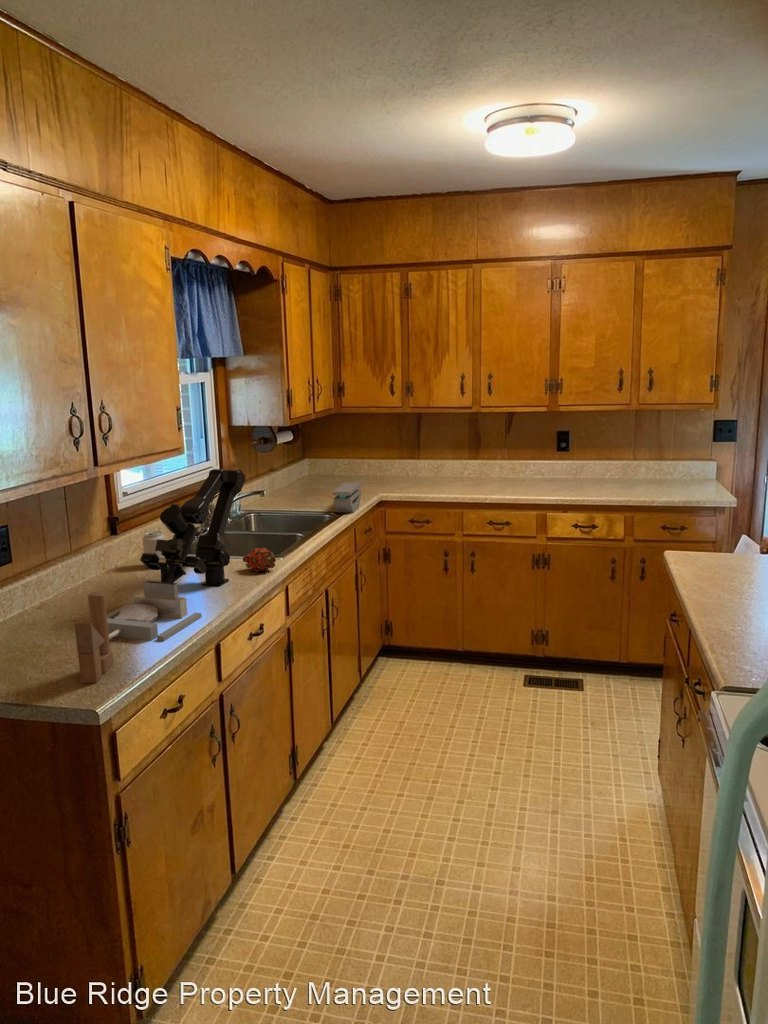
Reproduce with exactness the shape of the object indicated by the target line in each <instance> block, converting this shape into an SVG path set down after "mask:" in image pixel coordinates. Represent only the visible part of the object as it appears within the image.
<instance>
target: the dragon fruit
mask: <svg viewBox="0 0 768 1024" xmlns="http://www.w3.org/2000/svg"><path fill="white" fill-rule="evenodd" d="M242 562H243V563H245V567H246V568H248V569H252V570H254V572H255V573H259V572H260V571H262V572H268V571H269V569H273V568H275V567H276V564H275V562H277V559H276V557H275V554H274V553H273V552H272V551H270V550H269V549H268V548H265V547H262V548H261V547H260V548H259V547H255V548H254V550H252V552H250V553H248V554H246V555H245V556H243V557H242Z"/></svg>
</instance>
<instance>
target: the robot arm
mask: <svg viewBox="0 0 768 1024" xmlns="http://www.w3.org/2000/svg"><path fill="white" fill-rule="evenodd" d="M245 483H246V475H245V474H244V473H243V471H242V470H241V469H225V468H224V469H221V468H213V469H211V470H210V471H209V472H208V476H207V478H206V479H205V480H204V482H203V483H202V485H201V486H200V488H199V489H198V490H197V492H196V493H195V495H194V496H193V497H192V498H190V499H188V500H186V501H185V502H184V503H183V504H182V505H181V506H180V505H179V504H175V503H172V504H171V505H170V506H169V507H167V508H166V509H164V510H163V511H162V512H161V513H160V516H159V519H160V520H159V521H160V522H161V523H162V524H163V525H164V526H165V527H166V529H167V530H168V531H169V532H170V533H171V534H173V537H171V538H172V539H166V540H157V542H156V547H155V551H160V552H161V555H162V556H164V557H165V558H162V557H158V556H157V555H156V554H155V553H144V552H143V553H142V555H141V557H140V558H139V561H140V562H141V563H142V564H143V565H144V566H145V567H146V568H147V569H148V570H151V571H160V582H168V583H176V581H177V580H179V579H181V577H183V576H186V575H187V572H186V571H187V569H188V568H191V569H192V570H193V572H194V573H195V574H198V575H199V574H200V575H204V579H205V580H204V581H203V582H201V585H202V586H214V587H220V586H222V585H225V584H226V583H228V582H229V581H230V579H229V578H225V577H226V576H225V567H226V566H229V564H230V560H231V556H230V554H228V552H227V551H226V544H225V541H224V534H225V530H226V527H227V523H228V521H229V516H230V513H231V510H232V506H233V502H234V499H235V497H236V496H237V495H238V494H239V493H240V492H241V491H242V490H243V487H244V484H245ZM217 493H218V496H217V499H216V503H215V505H214V509H213V513H212V515H211V521H210V524H209V526H208V530H207V532H206V533H205V535H203V534H200V532H199V530H198V527H195V525H203V524H204V523H205V522H206V520H207V518H208V516H209V514H210V513H209V506H210V504H211V502H212V501H213V500H214V498H215V497H216V495H217ZM195 537H196V538H198V542H197V543H196V545H195V552H194V553H195V555H189V554H192V552H193V550H192V549H191V548H192V544H193V542H194V540H195Z"/></svg>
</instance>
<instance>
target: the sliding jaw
mask: <svg viewBox="0 0 768 1024" xmlns="http://www.w3.org/2000/svg"><path fill="white" fill-rule="evenodd" d="M142 585H143V593H141V592H140V593H138V594H136V595H134V596H133V604H145V605H152V606H154V607H156V608H157V609H158V617H165V618H172V619H173V618H175V619H183V618H184V617H185V618H186V616H188V607H187V606H188V605H187V597H182V596H179V591H178V583H177V582H174V583H168V582H161V581H157V580H145V581H142Z"/></svg>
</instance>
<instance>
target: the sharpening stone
mask: <svg viewBox="0 0 768 1024" xmlns="http://www.w3.org/2000/svg"><path fill="white" fill-rule="evenodd" d="M361 487H362V482H356V481H355V482H354V481H353V482H350V481H349V482H347V481H344V482H343V483H342V484H341V485H339V486H338V487H337V488H335V489H334V490H333V491H332V496H335V497H333V505H334V508H335V511H336V513H342V514H343V513H344V514H346V513H347V514H348V513H349V514H354V513H355V512H356V511H357V510H358V509H359V508H360V505H361V497H362V489H359V488H361Z"/></svg>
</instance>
